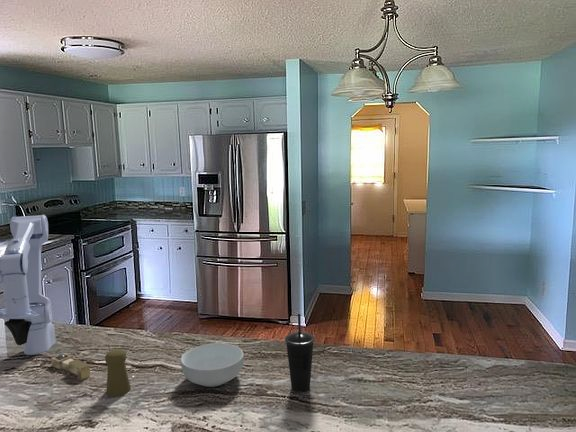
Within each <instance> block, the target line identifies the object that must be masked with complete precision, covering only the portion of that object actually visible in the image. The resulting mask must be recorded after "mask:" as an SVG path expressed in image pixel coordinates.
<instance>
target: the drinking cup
mask: <svg viewBox="0 0 576 432" xmlns="http://www.w3.org/2000/svg"><path fill="white" fill-rule="evenodd" d="M301 318H302V315H301V313H298V314H297V329H298V330H297V331H294V332H292V333H291V332H290V333H289V334H287V335H285V338H284V342H285V344H286V352H287V353H286V354H287V361H288V369H289V375H290V376H289V377H290V385H291V389H292V391H293V392H296V393H304V392H307V391H309V390H310V388H311V376H312V364H313V354H314V353H313V352H314V351H313V350H314V342H315V339H316V338H315V336H314V335H313V334H311V333H308V332H305V331H302V328H301V327H302V326H301V325H302V321H301Z"/></svg>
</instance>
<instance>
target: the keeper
mask: <svg viewBox="0 0 576 432" xmlns="http://www.w3.org/2000/svg"><path fill="white" fill-rule="evenodd" d="M73 360H74V361H71V362H69V365H70V366H72V367H74V368H75V369H77V372H78V375H77V378H78V379H79V380H80V381H83V380H86V379H88V378H90V377H91V371H90V370H91V369H90V365H89V364H88V363H87V362H86V363H84V362H83V361H82V360H80V359H73Z"/></svg>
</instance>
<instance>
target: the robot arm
mask: <svg viewBox="0 0 576 432" xmlns="http://www.w3.org/2000/svg"><path fill="white" fill-rule="evenodd" d="M9 227H10V233H11V235H12V237H13V238H12V239H10V240H9V241H8V243H7V245H6V248H5V251H4V253H3V254H2V255H1V256H0V283H1V284H2V292H3V300H4V301H3V302H4V307H3V308H1V309H0V318H2V320H5V322H4V326H5V327H7V329H8V330H9V332H10V333H11V335H12V336H13V339H14V342H15V344H16V345H17V346H22V348H23V353H24V355H26V356H35V355H39V354H42V353H45V352H47V351H48V350H50V348H51V347H52V346H54V345H55V344H56V343H57V342H56V341H57V340H56V329H55V326H54V324H53V322H52V321H53V308H52V300H51V299H50V298H49V297H47V296H45V295H43V294H42V248H43V245H44V244H45V243H46V242H49V241H48V238H49V221H48V217H47V216H46V215H45V214H39V215H24V216H12V217H11V218H10V221H9Z"/></svg>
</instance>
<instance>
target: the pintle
mask: <svg viewBox="0 0 576 432" xmlns="http://www.w3.org/2000/svg"><path fill="white" fill-rule="evenodd" d="M60 354H61V355H60ZM60 354H58V355H59V356H58V355H57V356H58V360H61V359H64V358H65V354H62V353H60Z"/></svg>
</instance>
